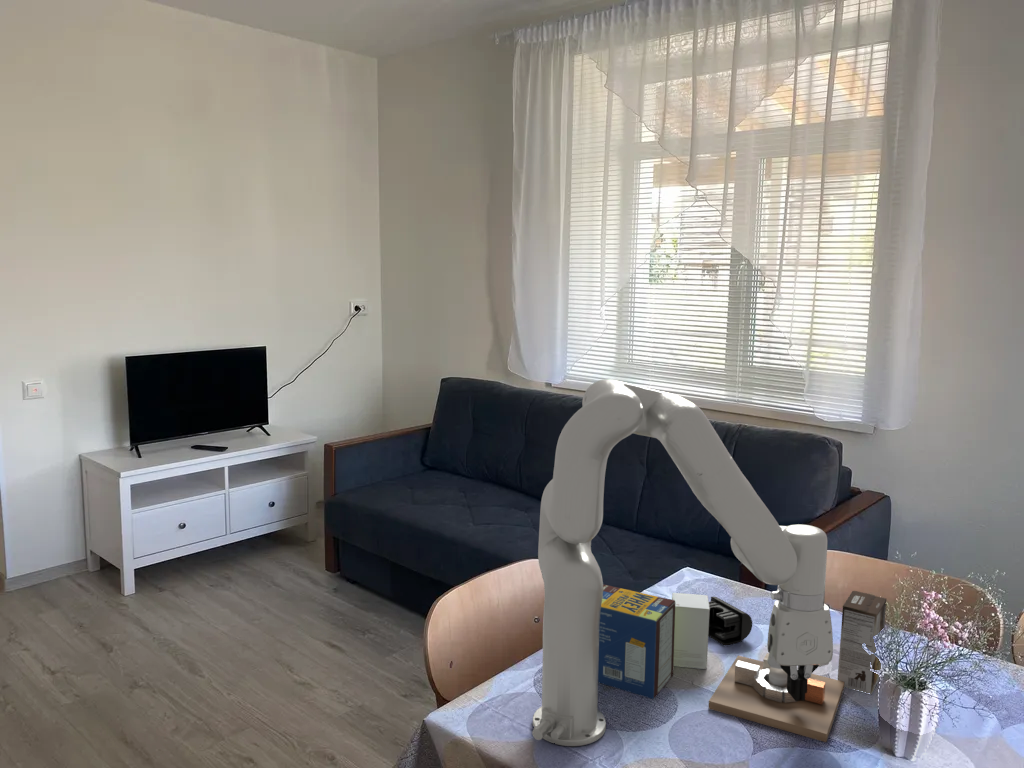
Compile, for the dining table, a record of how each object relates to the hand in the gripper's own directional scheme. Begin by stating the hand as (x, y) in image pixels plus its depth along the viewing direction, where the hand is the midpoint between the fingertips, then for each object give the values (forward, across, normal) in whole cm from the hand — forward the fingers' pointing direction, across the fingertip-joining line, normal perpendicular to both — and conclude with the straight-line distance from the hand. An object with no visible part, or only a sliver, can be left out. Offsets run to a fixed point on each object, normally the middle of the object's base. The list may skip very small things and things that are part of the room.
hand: (796, 696), depth 140 cm
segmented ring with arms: (+2, 0, +6) cm, 7 cm away
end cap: (+4, -2, +33) cm, 33 cm away
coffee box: (+5, +18, +12) cm, 22 cm away
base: (+4, 0, +6) cm, 8 cm away
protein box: (+4, -27, +16) cm, 31 cm away
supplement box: (+4, -13, +22) cm, 26 cm away
